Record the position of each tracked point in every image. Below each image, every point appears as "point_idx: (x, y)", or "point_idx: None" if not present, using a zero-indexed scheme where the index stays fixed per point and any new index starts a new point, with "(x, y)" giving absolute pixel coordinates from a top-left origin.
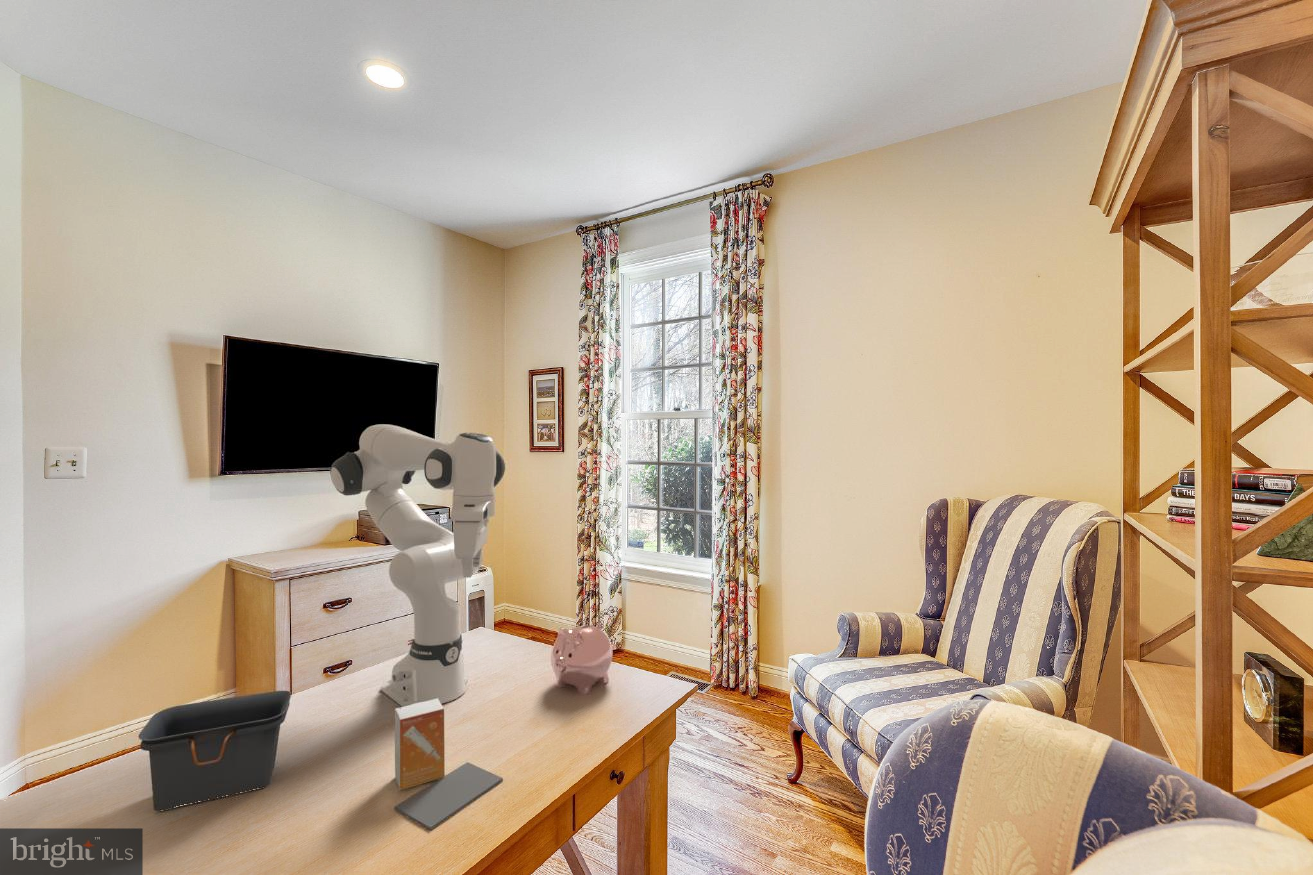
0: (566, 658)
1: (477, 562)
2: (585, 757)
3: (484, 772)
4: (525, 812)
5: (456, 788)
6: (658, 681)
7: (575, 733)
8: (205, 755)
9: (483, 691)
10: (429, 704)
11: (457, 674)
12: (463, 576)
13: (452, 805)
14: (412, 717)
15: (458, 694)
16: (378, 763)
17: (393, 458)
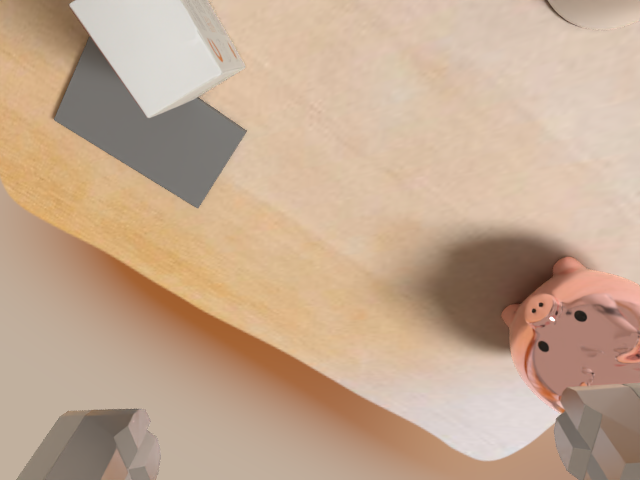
0: (540, 333)
1: (581, 476)
2: (270, 323)
3: (213, 173)
4: (123, 253)
5: (160, 133)
6: (526, 429)
7: (348, 305)
8: None
9: (589, 84)
10: (173, 63)
11: (620, 8)
12: (69, 412)
13: (113, 140)
14: (91, 38)
15: (573, 19)
16: None
17: None
